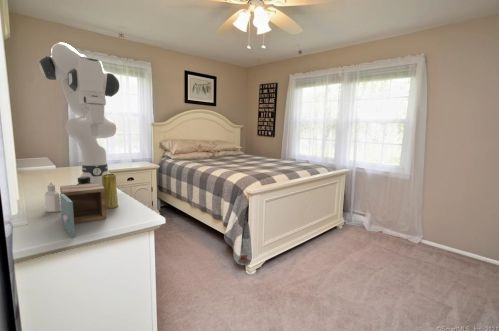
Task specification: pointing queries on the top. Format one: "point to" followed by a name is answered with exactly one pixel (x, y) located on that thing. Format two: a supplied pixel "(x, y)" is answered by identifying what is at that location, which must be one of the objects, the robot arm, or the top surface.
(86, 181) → the supplement bottle
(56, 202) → the eye dropper bottle
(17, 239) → the top surface
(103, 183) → the vase
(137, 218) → the top surface
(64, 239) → the top surface
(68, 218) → the door
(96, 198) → the cabinet box
